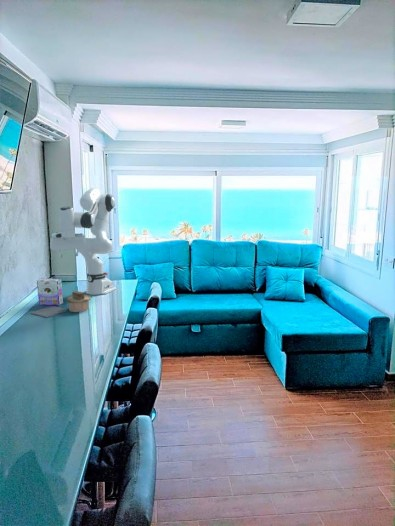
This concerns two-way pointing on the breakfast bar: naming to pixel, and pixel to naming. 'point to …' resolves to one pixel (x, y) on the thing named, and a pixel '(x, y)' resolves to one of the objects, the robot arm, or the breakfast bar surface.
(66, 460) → the breakfast bar surface
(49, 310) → the charcoal mat
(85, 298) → the walnut lid
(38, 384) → the breakfast bar surface
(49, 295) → the candy box
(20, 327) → the breakfast bar surface
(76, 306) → the terracotta bowl
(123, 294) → the breakfast bar surface
